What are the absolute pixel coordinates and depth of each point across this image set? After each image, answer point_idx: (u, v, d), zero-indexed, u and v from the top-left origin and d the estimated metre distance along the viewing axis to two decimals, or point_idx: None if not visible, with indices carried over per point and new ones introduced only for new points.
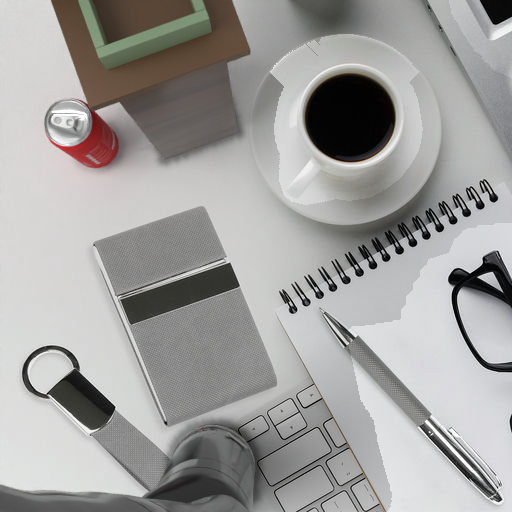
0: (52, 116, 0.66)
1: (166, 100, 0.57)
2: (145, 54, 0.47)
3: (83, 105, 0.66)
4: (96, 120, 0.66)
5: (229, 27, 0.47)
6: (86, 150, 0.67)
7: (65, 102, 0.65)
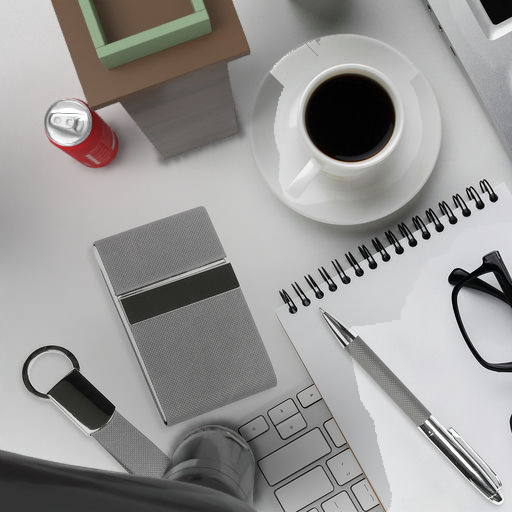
0: (52, 116, 0.66)
1: (166, 100, 0.57)
2: (145, 54, 0.47)
3: (83, 105, 0.66)
4: (96, 120, 0.66)
5: (229, 27, 0.47)
6: (86, 150, 0.67)
7: (65, 102, 0.65)
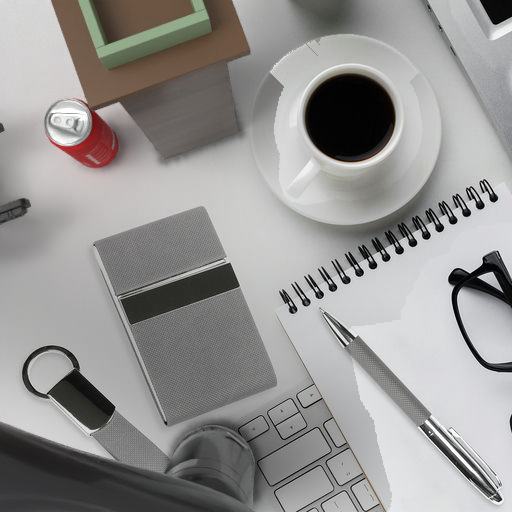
0: (52, 116, 0.66)
1: (166, 100, 0.57)
2: (145, 54, 0.47)
3: (83, 105, 0.66)
4: (96, 120, 0.66)
5: (229, 27, 0.47)
6: (86, 150, 0.67)
7: (65, 102, 0.65)
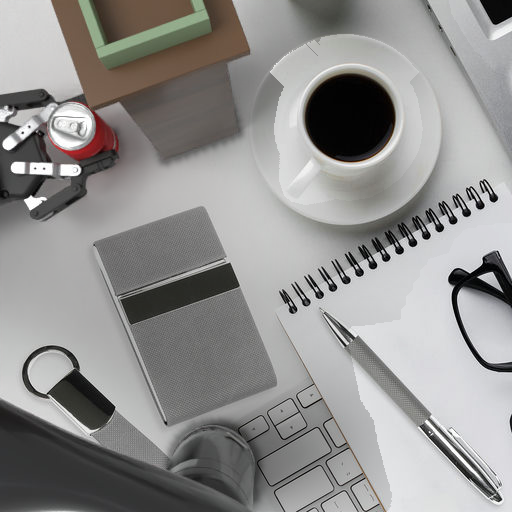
0: (55, 120, 0.65)
1: (166, 100, 0.57)
2: (145, 54, 0.47)
3: (86, 109, 0.65)
4: (99, 124, 0.66)
5: (229, 27, 0.47)
6: (88, 153, 0.67)
7: (68, 105, 0.65)
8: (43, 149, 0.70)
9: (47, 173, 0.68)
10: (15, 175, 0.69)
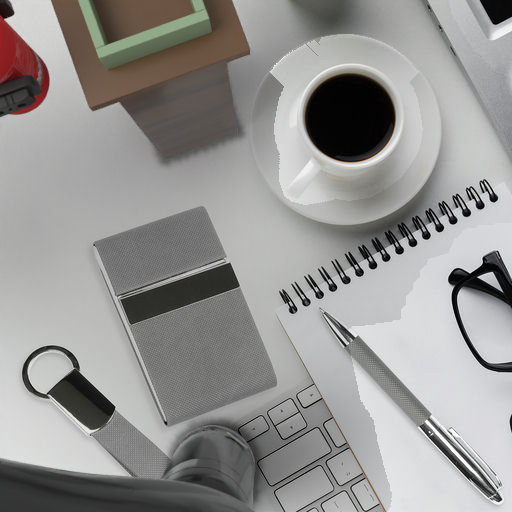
0: None
1: (166, 100, 0.57)
2: (145, 54, 0.47)
3: None
4: (2, 29, 0.41)
5: (229, 27, 0.47)
6: None
7: None
8: None
9: None
10: None
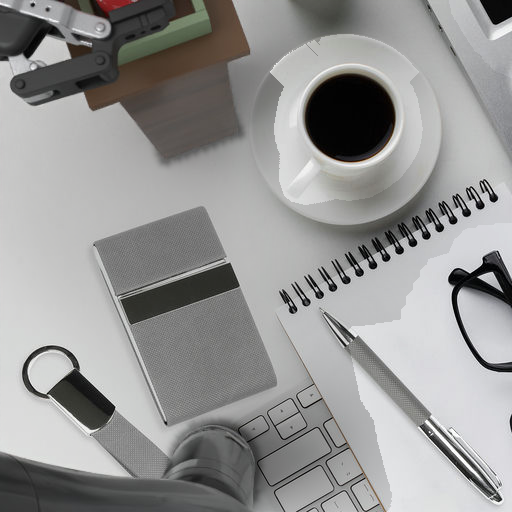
0: None
1: (166, 100, 0.57)
2: (145, 54, 0.47)
3: None
4: None
5: (229, 27, 0.47)
6: None
7: None
8: None
9: (55, 5, 0.38)
10: None
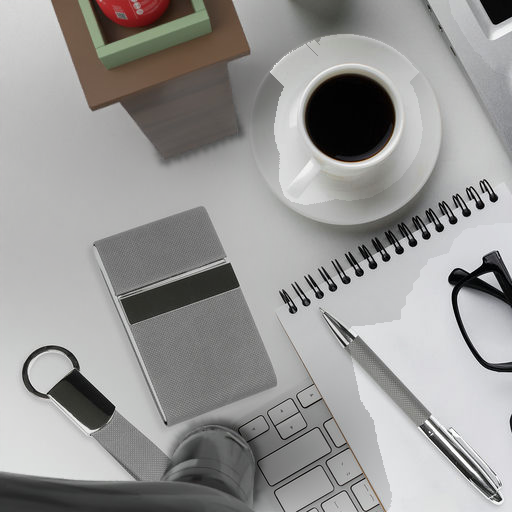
0: None
1: (166, 100, 0.57)
2: (145, 54, 0.47)
3: None
4: None
5: (229, 27, 0.47)
6: None
7: None
8: None
9: None
10: None
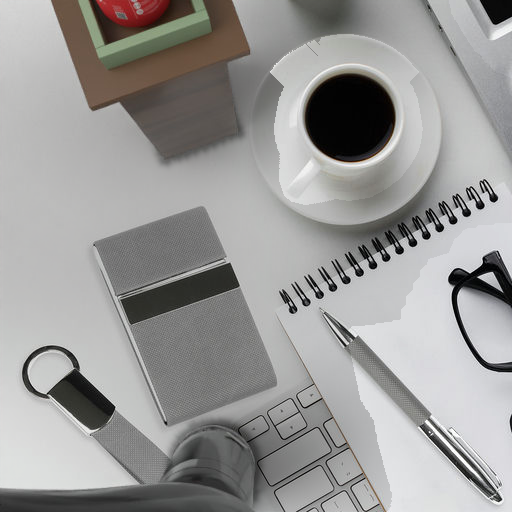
0: None
1: (166, 100, 0.57)
2: (145, 54, 0.47)
3: None
4: None
5: (229, 27, 0.47)
6: None
7: None
8: None
9: None
10: None
